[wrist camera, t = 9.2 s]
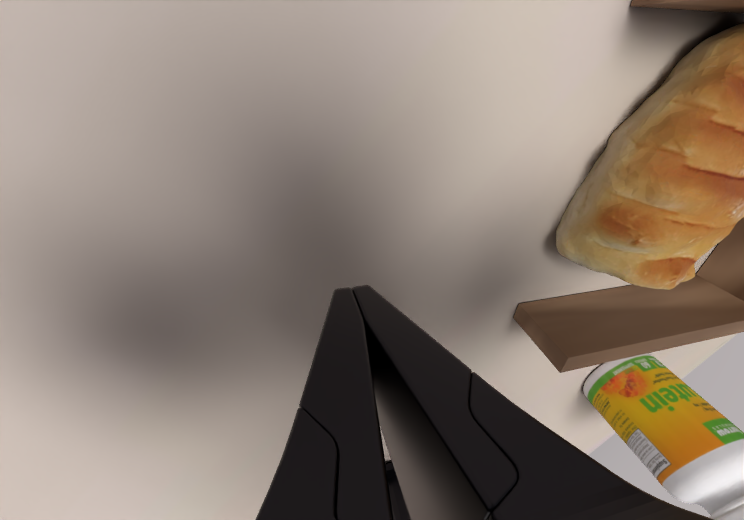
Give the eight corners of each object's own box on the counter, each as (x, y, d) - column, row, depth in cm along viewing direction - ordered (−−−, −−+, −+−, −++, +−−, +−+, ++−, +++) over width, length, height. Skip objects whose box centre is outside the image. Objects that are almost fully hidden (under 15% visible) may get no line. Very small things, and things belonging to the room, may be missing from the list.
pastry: (667, -7, 10) (839, -26, 7) (787, 42, 12) (960, 43, 9) (533, 249, 15) (600, 303, 12) (635, 253, 17) (714, 299, 14)
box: (698, 285, 20) (768, 326, 17) (513, 317, 17) (559, 372, 14) (924, -11, 12) (1126, -26, 9) (646, -39, 9) (811, -74, 6)
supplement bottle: (657, 338, 22) (859, 496, 15) (635, 380, 26) (791, 529, 18) (588, 363, 22) (758, 539, 14) (574, 403, 25) (707, 565, 17)
